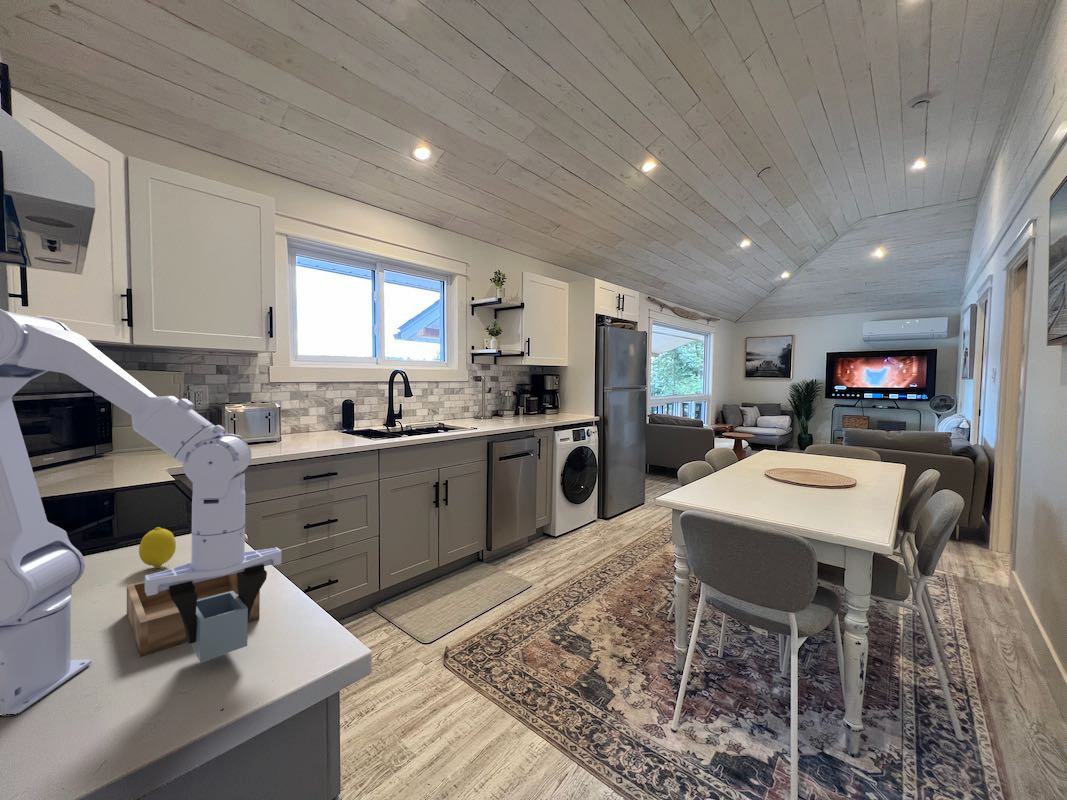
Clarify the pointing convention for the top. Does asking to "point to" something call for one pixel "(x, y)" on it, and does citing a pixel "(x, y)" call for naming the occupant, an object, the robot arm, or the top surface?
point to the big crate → (170, 613)
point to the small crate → (220, 625)
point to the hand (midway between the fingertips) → (217, 631)
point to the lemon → (157, 547)
